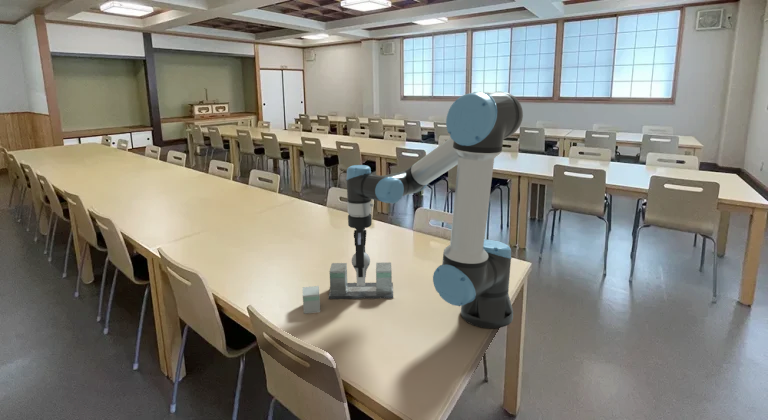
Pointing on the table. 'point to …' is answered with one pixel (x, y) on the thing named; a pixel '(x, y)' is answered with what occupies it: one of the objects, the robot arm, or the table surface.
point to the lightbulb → (366, 261)
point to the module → (311, 299)
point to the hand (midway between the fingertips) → (361, 280)
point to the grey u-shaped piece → (352, 291)
